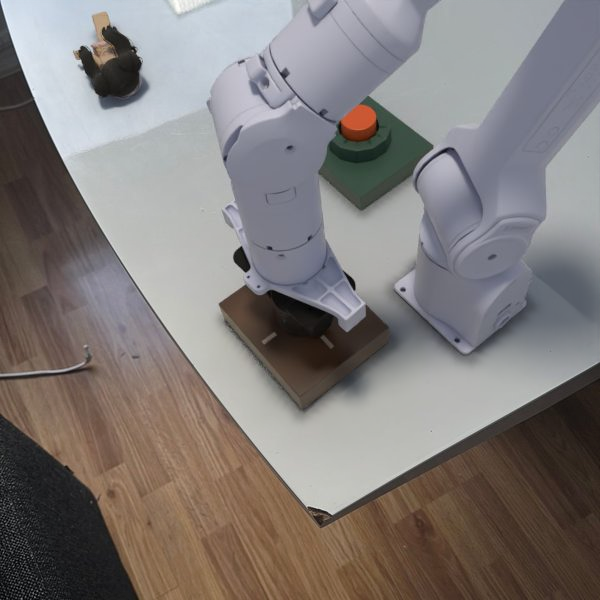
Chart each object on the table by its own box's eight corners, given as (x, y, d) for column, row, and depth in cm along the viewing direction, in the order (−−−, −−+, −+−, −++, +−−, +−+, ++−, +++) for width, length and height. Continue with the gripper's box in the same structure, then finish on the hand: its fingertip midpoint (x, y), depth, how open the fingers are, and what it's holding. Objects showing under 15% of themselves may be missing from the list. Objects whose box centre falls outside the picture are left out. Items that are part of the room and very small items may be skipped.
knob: (336, 315, 58) (333, 289, 54) (299, 346, 57) (293, 322, 53) (303, 284, 60) (299, 258, 56) (266, 314, 59) (259, 289, 55)
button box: (432, 159, 70) (435, 132, 66) (360, 210, 67) (360, 185, 64) (358, 102, 75) (357, 74, 72) (289, 147, 73) (285, 120, 69)
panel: (388, 342, 60) (389, 326, 57) (302, 410, 57) (299, 396, 54) (306, 260, 65) (303, 241, 62) (224, 319, 62) (217, 302, 60)
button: (383, 129, 68) (383, 117, 66) (356, 147, 67) (356, 135, 66) (360, 111, 70) (360, 99, 68) (334, 129, 69) (333, 116, 67)
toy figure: (67, 48, 86) (102, 113, 78) (52, 2, 81) (88, 67, 73) (120, 33, 88) (159, 95, 80) (108, -13, 82) (149, 48, 75)
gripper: (177, 194, 48) (215, 290, 60) (309, 316, 42) (323, 397, 54) (250, 142, 50) (273, 244, 62) (387, 251, 44) (384, 342, 56)
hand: (300, 312), depth 58 cm, fingers closed on knob, 4 cm apart
